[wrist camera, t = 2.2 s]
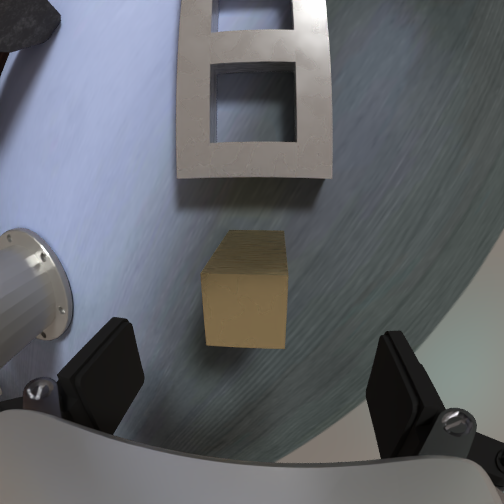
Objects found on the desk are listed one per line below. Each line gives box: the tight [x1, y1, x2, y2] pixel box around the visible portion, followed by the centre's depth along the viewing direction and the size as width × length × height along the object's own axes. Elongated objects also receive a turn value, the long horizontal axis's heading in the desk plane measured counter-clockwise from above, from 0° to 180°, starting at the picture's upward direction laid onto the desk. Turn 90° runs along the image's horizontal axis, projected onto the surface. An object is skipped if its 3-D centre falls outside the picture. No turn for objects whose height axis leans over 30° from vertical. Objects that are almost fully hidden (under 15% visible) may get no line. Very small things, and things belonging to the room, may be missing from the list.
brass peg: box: [201, 230, 288, 349], centre depth 19 cm, size 4×4×9 cm
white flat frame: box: [176, 0, 332, 179], centre depth 16 cm, size 26×10×2 cm, turn 0°
